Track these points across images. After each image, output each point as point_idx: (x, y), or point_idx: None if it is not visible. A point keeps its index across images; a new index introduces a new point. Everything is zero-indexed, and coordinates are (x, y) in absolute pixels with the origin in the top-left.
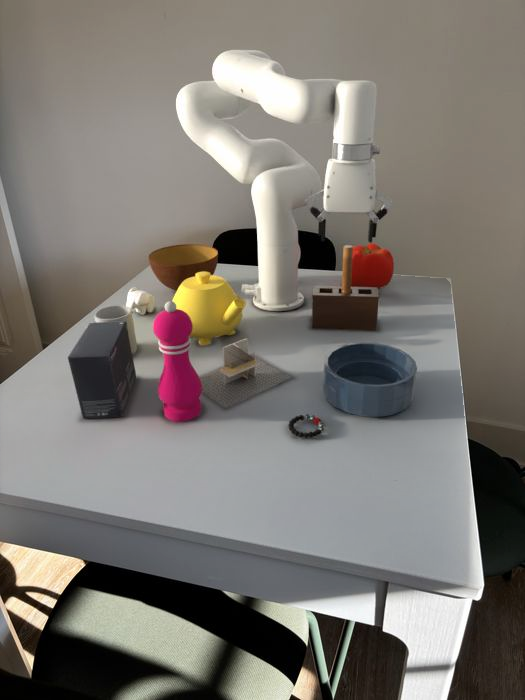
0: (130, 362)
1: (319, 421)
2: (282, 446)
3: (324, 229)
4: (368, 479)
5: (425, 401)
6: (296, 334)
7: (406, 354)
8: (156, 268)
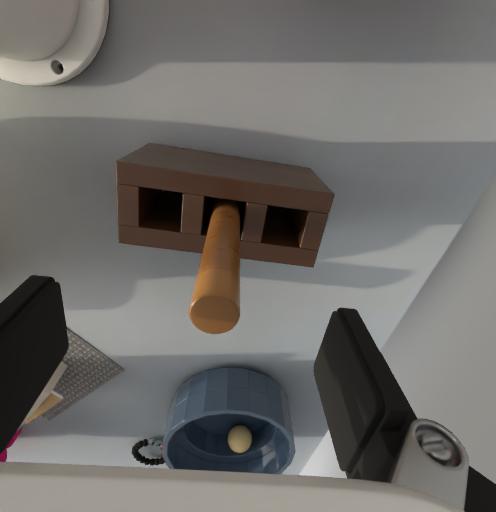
0: None
1: None
2: (130, 463)
3: (25, 408)
4: None
5: (299, 413)
6: (114, 231)
7: (289, 438)
8: None
